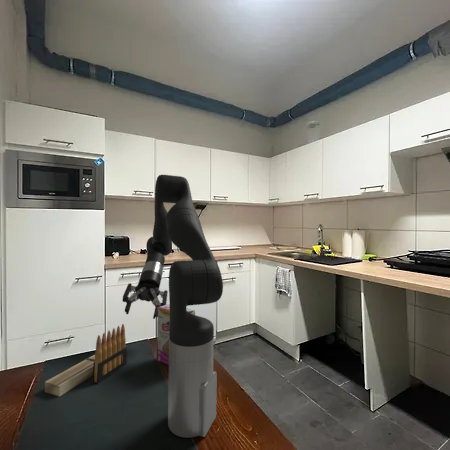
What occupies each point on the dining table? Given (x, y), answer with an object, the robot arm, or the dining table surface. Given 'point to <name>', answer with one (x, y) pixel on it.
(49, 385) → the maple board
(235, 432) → the dining table surface
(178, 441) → the dining table surface
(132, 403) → the dining table surface
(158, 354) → the candy bar box
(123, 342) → the ammunition clip
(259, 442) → the dining table surface
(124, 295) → the robot arm
